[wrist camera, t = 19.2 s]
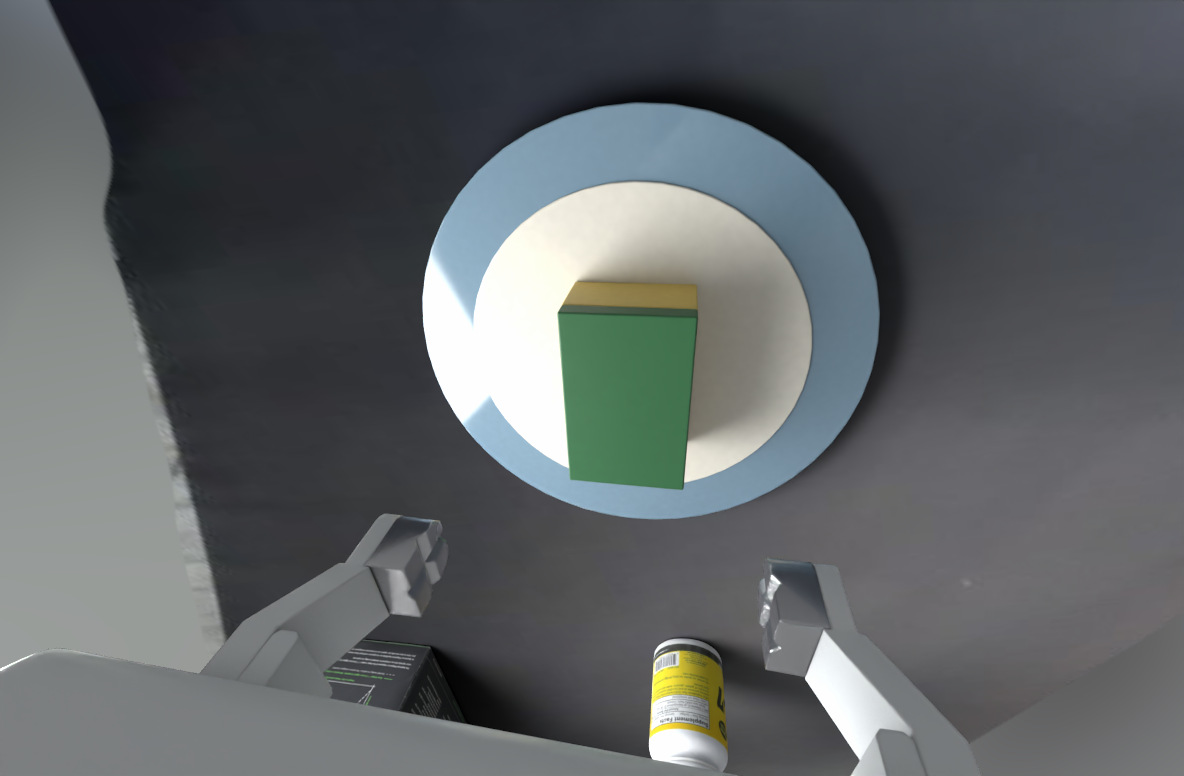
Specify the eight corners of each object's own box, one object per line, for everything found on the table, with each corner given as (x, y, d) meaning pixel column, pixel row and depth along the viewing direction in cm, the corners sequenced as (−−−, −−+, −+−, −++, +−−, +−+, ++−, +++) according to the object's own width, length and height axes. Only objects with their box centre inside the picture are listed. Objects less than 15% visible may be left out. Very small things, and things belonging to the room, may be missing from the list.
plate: (383, 111, 19) (369, 112, 18) (944, 89, 16) (959, 89, 15) (468, 490, 29) (462, 502, 28) (818, 524, 26) (822, 539, 25)
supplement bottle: (717, 679, 35) (724, 827, 28) (652, 669, 36) (643, 810, 29) (726, 641, 33) (737, 793, 26) (656, 630, 33) (648, 775, 26)
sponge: (574, 281, 20) (556, 312, 17) (697, 283, 19) (698, 317, 17) (583, 435, 24) (569, 480, 21) (684, 442, 24) (683, 491, 21)
